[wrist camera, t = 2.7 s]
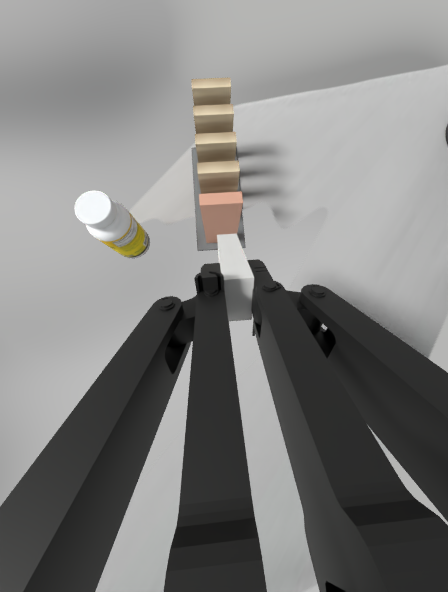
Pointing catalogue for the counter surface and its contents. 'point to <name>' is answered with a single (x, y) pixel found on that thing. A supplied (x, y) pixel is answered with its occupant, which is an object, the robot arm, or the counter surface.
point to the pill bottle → (112, 224)
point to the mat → (199, 223)
